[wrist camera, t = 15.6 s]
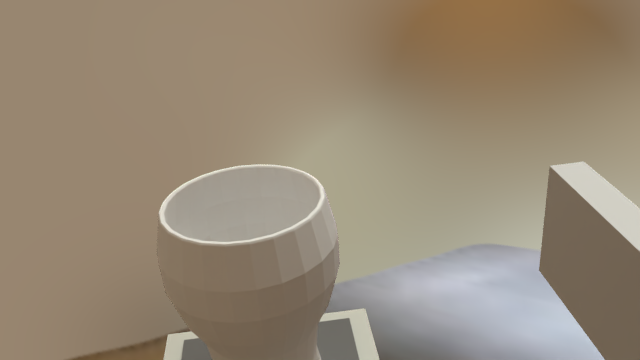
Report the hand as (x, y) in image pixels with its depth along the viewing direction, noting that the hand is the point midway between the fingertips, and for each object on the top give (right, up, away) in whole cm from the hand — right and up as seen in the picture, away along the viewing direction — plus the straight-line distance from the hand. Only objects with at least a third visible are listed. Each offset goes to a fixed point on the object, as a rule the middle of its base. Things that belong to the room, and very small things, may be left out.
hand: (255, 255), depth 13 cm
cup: (-2, -13, +28) cm, 31 cm away
